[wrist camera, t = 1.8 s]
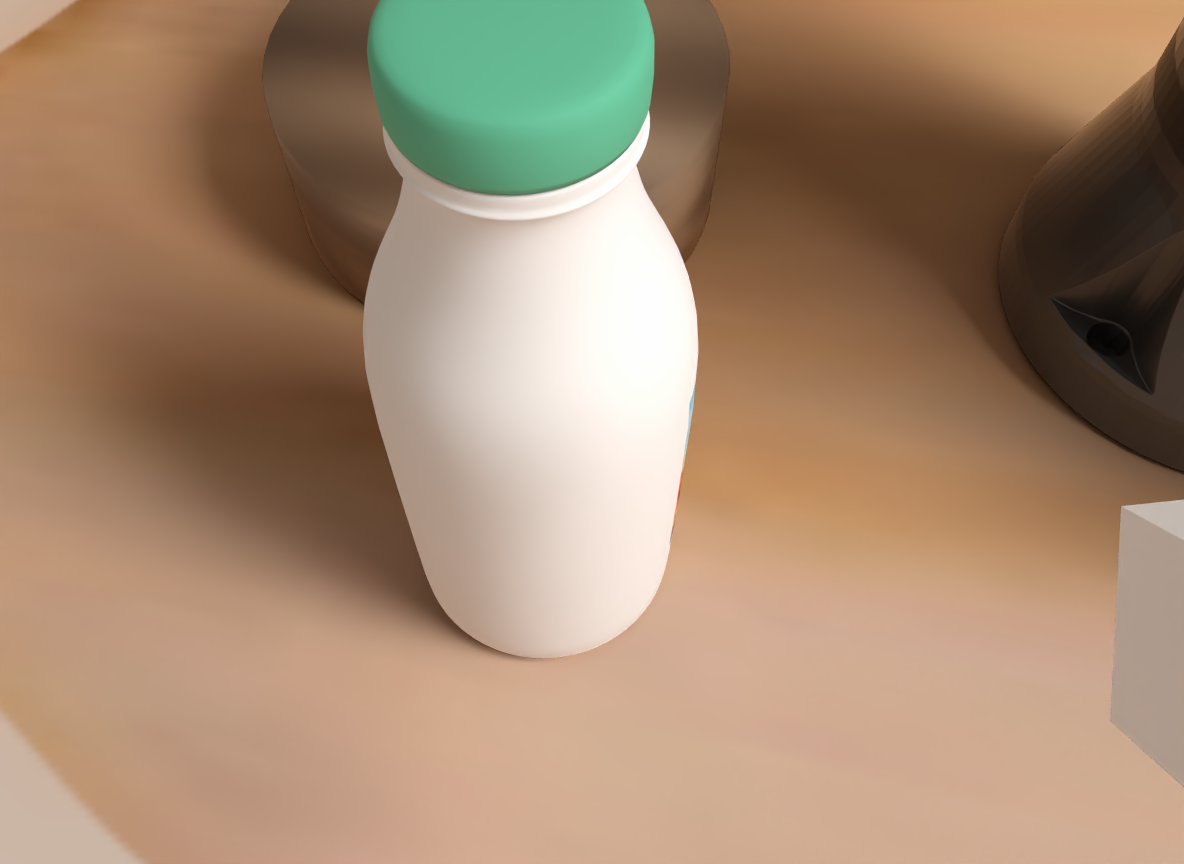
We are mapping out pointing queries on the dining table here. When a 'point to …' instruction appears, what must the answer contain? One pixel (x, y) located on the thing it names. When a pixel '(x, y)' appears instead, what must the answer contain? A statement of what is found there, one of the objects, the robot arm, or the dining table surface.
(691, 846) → the dining table surface
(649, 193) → the walnut stand
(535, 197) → the milk bottle
